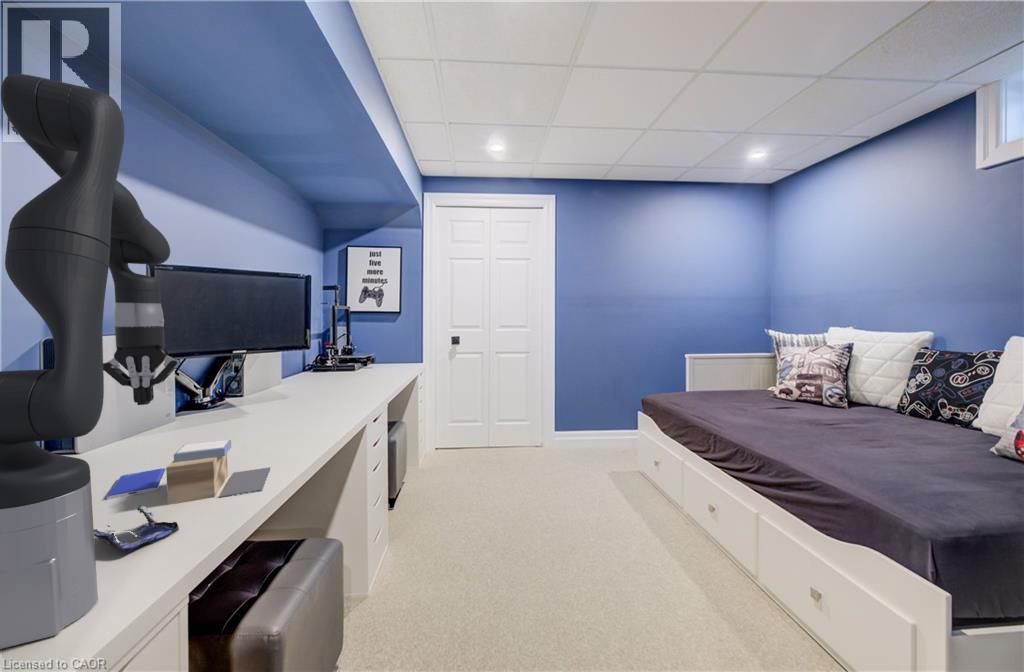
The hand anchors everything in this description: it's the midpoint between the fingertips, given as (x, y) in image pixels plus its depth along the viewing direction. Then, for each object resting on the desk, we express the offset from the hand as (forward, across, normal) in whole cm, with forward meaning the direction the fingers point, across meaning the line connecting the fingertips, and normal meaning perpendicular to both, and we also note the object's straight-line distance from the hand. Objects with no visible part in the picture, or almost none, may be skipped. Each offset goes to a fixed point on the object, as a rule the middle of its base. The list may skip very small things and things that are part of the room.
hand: (144, 404), depth 83 cm
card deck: (+13, +10, 0) cm, 16 cm away
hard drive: (+22, -5, +9) cm, 24 cm away
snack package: (+21, +4, -20) cm, 29 cm away
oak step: (+21, +9, 0) cm, 23 cm away
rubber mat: (+21, +18, 0) cm, 28 cm away
